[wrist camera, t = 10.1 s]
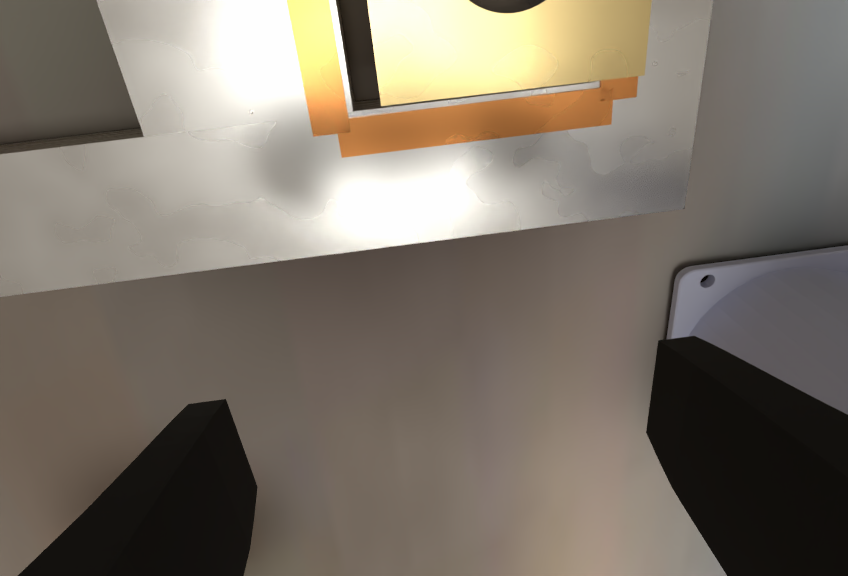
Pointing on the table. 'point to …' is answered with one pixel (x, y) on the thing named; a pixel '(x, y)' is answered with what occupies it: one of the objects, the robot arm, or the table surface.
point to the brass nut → (503, 45)
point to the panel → (328, 150)
